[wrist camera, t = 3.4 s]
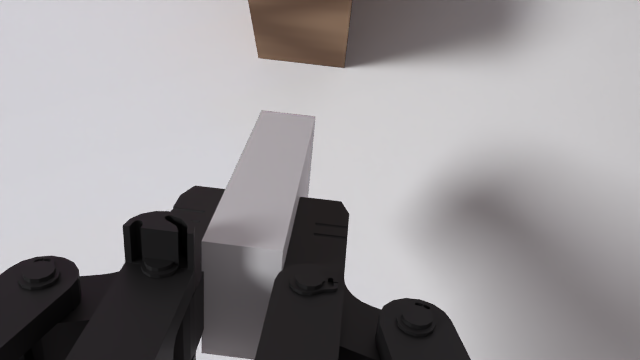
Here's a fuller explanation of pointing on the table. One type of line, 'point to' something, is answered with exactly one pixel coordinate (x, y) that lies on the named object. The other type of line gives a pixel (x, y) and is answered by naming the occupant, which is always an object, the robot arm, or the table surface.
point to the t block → (302, 30)
